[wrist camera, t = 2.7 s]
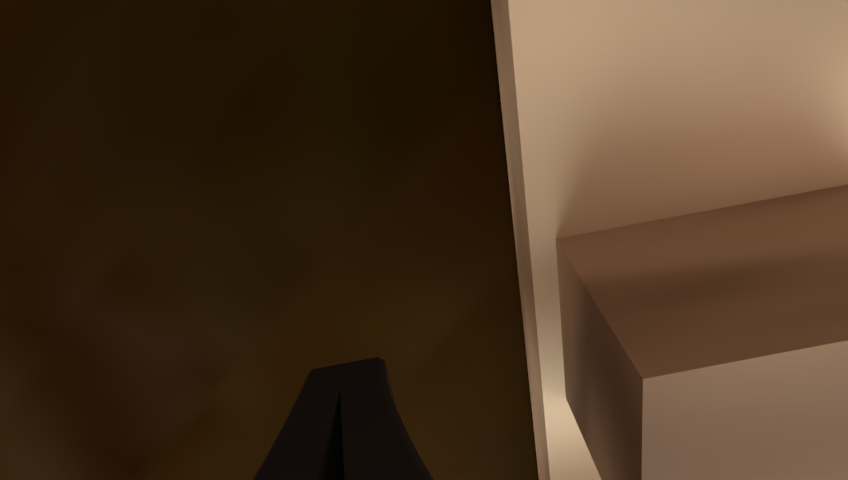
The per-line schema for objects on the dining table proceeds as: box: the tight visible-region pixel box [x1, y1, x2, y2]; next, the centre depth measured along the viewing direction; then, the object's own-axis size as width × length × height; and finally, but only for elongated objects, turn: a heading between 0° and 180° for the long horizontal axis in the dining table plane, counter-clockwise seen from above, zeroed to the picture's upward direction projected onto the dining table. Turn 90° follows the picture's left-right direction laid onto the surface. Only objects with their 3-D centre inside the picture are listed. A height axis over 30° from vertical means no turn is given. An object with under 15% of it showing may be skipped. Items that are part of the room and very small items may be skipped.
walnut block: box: [556, 184, 848, 480], centre depth 11 cm, size 4×6×4 cm, turn 99°
